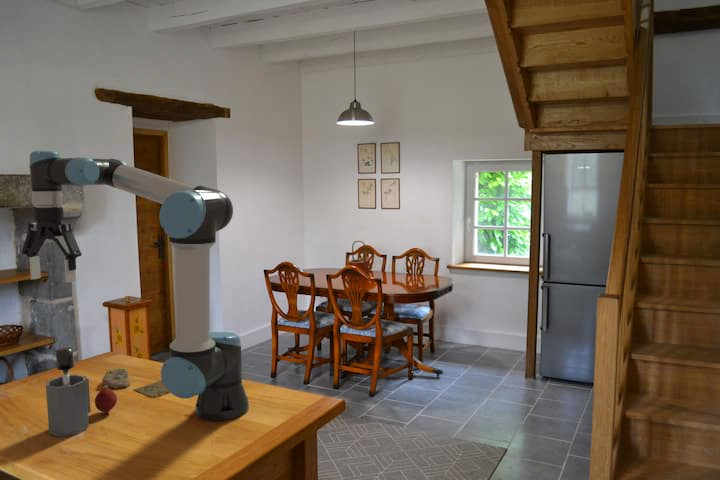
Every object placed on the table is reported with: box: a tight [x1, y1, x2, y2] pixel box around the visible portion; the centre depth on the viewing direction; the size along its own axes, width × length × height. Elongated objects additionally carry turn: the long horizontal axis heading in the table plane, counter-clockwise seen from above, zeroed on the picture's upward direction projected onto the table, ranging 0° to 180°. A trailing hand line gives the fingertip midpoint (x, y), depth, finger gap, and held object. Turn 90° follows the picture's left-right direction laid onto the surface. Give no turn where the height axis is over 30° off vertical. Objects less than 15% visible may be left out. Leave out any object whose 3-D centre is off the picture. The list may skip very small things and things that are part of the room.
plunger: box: [55, 346, 75, 386], centre depth 154 cm, size 7×7×19 cm
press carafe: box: [45, 374, 92, 438], centre depth 156 cm, size 9×11×14 cm
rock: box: [101, 368, 131, 389], centre depth 188 cm, size 9×6×10 cm
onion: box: [94, 385, 118, 414], centre depth 165 cm, size 6×6×8 cm
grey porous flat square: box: [132, 379, 171, 399], centre depth 185 cm, size 12×12×1 cm
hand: (53, 280), depth 164 cm, fingers open, 13 cm apart
